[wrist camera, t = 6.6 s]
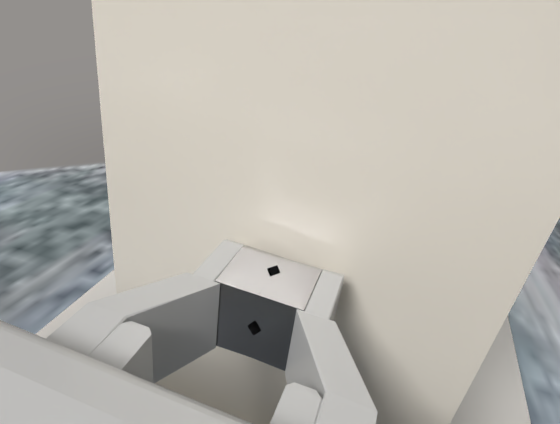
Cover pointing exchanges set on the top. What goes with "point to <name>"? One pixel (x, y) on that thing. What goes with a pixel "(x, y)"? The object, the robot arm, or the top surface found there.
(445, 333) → the tile
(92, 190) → the top surface
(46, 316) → the top surface
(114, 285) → the mat
